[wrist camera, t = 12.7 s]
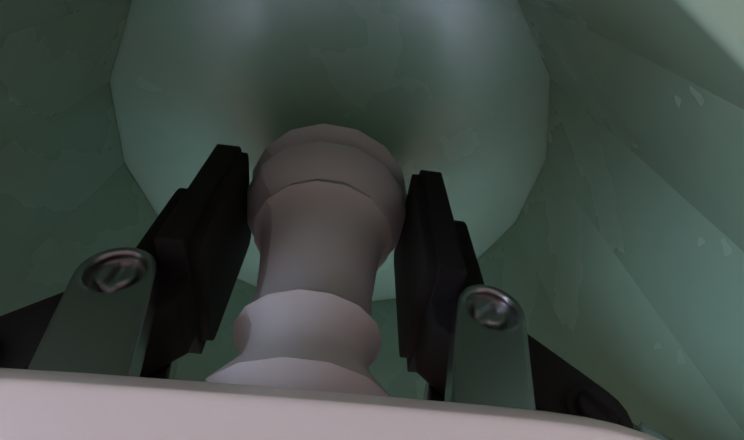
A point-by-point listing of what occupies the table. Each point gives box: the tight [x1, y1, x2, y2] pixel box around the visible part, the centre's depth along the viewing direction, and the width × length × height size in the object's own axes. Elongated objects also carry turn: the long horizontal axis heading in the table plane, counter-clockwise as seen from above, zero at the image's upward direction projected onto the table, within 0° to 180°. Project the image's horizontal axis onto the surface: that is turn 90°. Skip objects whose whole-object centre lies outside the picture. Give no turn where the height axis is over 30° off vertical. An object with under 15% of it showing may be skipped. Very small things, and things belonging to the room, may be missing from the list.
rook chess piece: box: [204, 123, 407, 397], centre depth 9 cm, size 4×4×8 cm
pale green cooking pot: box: [0, 0, 744, 440], centre depth 10 cm, size 16×21×10 cm
